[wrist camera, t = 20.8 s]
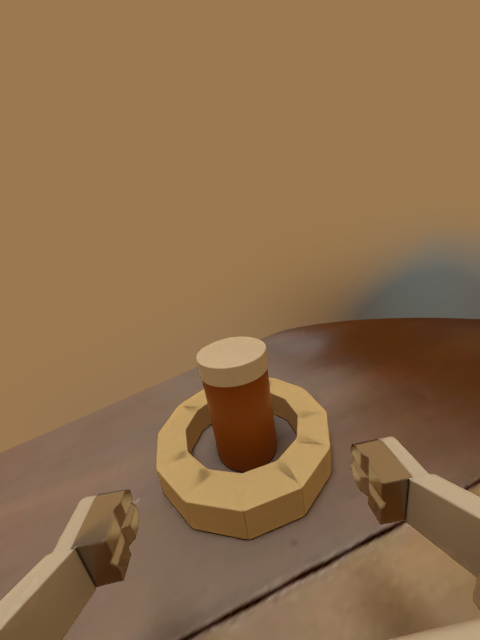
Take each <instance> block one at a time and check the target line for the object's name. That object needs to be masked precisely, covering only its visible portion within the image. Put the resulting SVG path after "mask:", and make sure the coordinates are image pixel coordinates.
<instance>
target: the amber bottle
mask: <svg viewBox="0 0 480 640" xmlns="http://www.w3.org/2000/svg"><path fill="white" fill-rule="evenodd" d="M196 361H197V365H198V370H199V374H200V378H201V379H202V381H203V386H204V390H205V395H206V399H207V404H208V408H209V413H210V417H211V422H212V426H213V431H214V435H215V440H216V445H217V449H218V454H219V457H220V459H221V461H222V462H223V463H224V464H225V465H226V466H227V467H228V468H230V469H232V470H235V471H240V472H247V471H250V470H253V469H256V468H258V467H261V466H264V465H266V464H267V463H269V462H270V460H271V459H272V458H273V456H274V455H275V452H276V449H277V441H276V433H275V425H274V417H273V409H272V401H271V393H270V386H269V378H268V370H267V368H268V359H267V351H266V345H265V344H264V343H263V342H262V341H261V340H259V339H256V338H251V337H232V338H226V339H222V340H219V341H216V342H213V343H211V344H209V345H207V346H205V347H204V348H202V349H201V350H200V351H199V352H198V354H197V357H196Z"/></svg>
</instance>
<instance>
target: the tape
mask: <svg viewBox="0 0 480 640" xmlns="http://www.w3.org/2000/svg"><path fill="white" fill-rule="evenodd" d="M269 386H270V393H271V401H272V409H273V414H275V415H278V416H280V417H282V418H284V419H286V420H288V422H289V423H290V425H291V426H292V428H293V429H294V430H295V432H296V433H297V438H296V439H295V440H294V442H293V443H292V444H291V445H290V446H289V447H288V449H287V450H286V451H285V452H284V453H283V454H282V455H281V457H280V458H279V459H278V460H277V461H275V462H272V463H269V464H266V465H264V466H261V467H258V468H256V469H253V470H250V471H247V472H245V473H234V472H226V471H218V470H210V469H207V468H206V467H204V466H203V465H202V464H201V463H200V462H199V461H198V460H196V459H195V458H194V457H193V456H192V449H193V448H194V446H195V444H196V442H197V440H198V438H199V436H200V434H201V432H202V431H203V430H204V429H205V428H207V427H208V426H209V425H210V424H212V422H211V417H210V413H209V408H208V404H207V399H206V395H205V390H204V389H203V390H202V391H200V392H199V393H197V394H195V395H194V396H192V397H191V398H189V399H188V400H186V401H184V402H183V403H181V404H180V405H179V406H178V407H177V408H176V410H175V411H174V412H173V414H172V415H171V416H170V418H169V419H168V421H167V422H166V423H165V425H164V426H163V427H162V429H161V430H160V431H159V434H158V444H157V459H156V470H157V473H158V476H159V479H160V482H161V485H162V489H163V492H164V494H165V495H166V497H167V498H168V499H169V500H170V502H171V503H172V504H173V505H174V507H175V508H176V509H177V510H178V511H179V513H180V514H181V515H182V516H183V518H184V519H185V520H186V521H187V523H188V524H189V525H190V526H191V527H192V528H193V529H197V530H202V531H207V532H212V533H217V534H222V535H227V536H232V537H237V538H242V539H247V540H248V539H249V540H250V539H253V538H255V537H257V536H260V535H262V534H264V533H267V532H269V531H271V530H274V529H276V528H278V527H281V526H283V525H285V524H288V523H290V522H292V521H294V520H297V519H299V518H301V517H304V515H306V513H307V512H308V510H309V508H310V507H311V505H312V504H313V502H314V500H315V499H316V497H317V496H318V494H319V492H320V491H321V489H322V488H323V486H324V484H325V483H326V481H327V480H328V478H329V476H330V475H331V448H330V438H329V429H328V420H327V413H326V411H325V410H324V409H323V408H322V407H321V406H320V405H319V404H318V403H317V402H316V401H315V400H314V399H313V398H312V397H311V395H310V394H309V393H308V392H307V391H306V390H305V389H303V388H301V387H298V386H295V385H292V384H290V383H287V382H284V381H281V380H278V379H275V378H269Z"/></svg>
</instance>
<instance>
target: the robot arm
mask: <svg viewBox="0 0 480 640" xmlns="http://www.w3.org/2000/svg"><path fill="white" fill-rule="evenodd" d="M351 454H352V455H353V457H354V458H353V460H352V461H351V470H352V473H353V477H354V479H355V482H356V484H357V486H358V487H359V489H360V491H361V492H363V493H364V494H366V495H367V496H368V505H369V506H370V508H371V510H372V511H373V513H374V515H375V516H376V518H377V520H378V521H379V523H380V525H381V524H387V523H392V522H398V521H403V520H406V522H407V523H408V524H410V525H411V526H412V527H413V528H415V529H416V530H417V531H418V532H420V533H421V534H422V535H424V536H425V537H426V538H427V539H429V540H430V541H431V542H432V543H434V544H435V545H436V546H437V547H439V548H440V549H441V550H443V551H444V552H445V553H446V554H448V555H449V556H450V557H451V558H453V559H454V560H455V561H456V562H458V563H459V564H460V565H462V566H463V567H464V568H465V569H467V570H468V571H469V572H470V573H472V574H473V575H474V576H475V577H477V580H476V584H475V589H474V593H473V601H474V603H475V604H476V605H477V607H478V608H479V610H480V497H479V496H477V495H475V494H473V493H471V492H469V491H467V490H465V489H463V488H461V487H459V486H457V485H455V484H453V483H451V482H449V481H447V480H445V479H443V478H441V477H439V476H437V475H435V474H429V473H428V472H427V471H426V470H425V469H424V468H423V467H422V466H421V465H420V464H419V463H418V462H417V461H416V460H415V459H414V457H413V456H412V455H411V454H410V453H409V452H408V451H407V450H406V449H405V448H404V447H403V446H402V445H401V444H400V443H399V442H398V441H397V439H396V438H394V437H392V436H391V437H386V438H381V439H375V440H370V441H365V442H361V443H356V444H352V446H351ZM131 500H132V494H131V492H130V490H122V491H116V492H110V493H104V494H98V495H93V496H88V497H84V498H83V499H82V500H81V501H80V502H79V503H78V505H77V507H76V509H75V511H74V513H73V515H72V516H71V518H70V520H69V522H68V524H67V526H66V528H65V530H64V531H63V533H62V535H61V537H60V539H59V541H58V543H57V545H56V546H55V548H54V550H53V552H52V553H51V554H47V555H46V556H45V557H44V558H43V559H42V560H41V561H40V562H39V563H38V564H37V565H36V566H35V567H34V568H33V569H32V570H31V571H30V572H29V573H28V574H27V575H26V576H25V577H24V578H23V579H22V580H21V581H20V582H19V583H18V584H17V585H16V586H15V587H14V588H13V589H12V590H11V591H10V592H9V593H8V594H7V595H6V596H5V597H4V598H3V599H2V600H1V601H0V640H62V639H63V638H64V636H65V635H66V633H67V632H68V630H69V629H70V627H71V626H72V624H73V623H74V621H75V620H76V618H77V617H78V615H79V614H80V612H81V611H82V609H83V608H84V606H85V605H86V604H87V602H88V601H89V599H90V598H91V596H92V595H93V593H94V592H95V590H96V588H95V587H99V586H103V585H107V584H111V583H115V582H119V581H123V580H124V578H125V575H126V571H127V567H128V564H129V560H130V556H131V553H130V550H129V546H130V545H131V543H132V542H133V541H134V539H135V538H136V534H137V530H138V522H139V515H138V509H137V507H136V505H135V504H133V503H131ZM388 640H480V617H479V618H475V619H471V620H467V621H462V622H458V623H454V624H450V625H446V626H442V627H437V628H433V629H429V630H425V631H421V632H417V633H413V634H408V635H404V636H400V637H396V638H392V639H388Z"/></svg>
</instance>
